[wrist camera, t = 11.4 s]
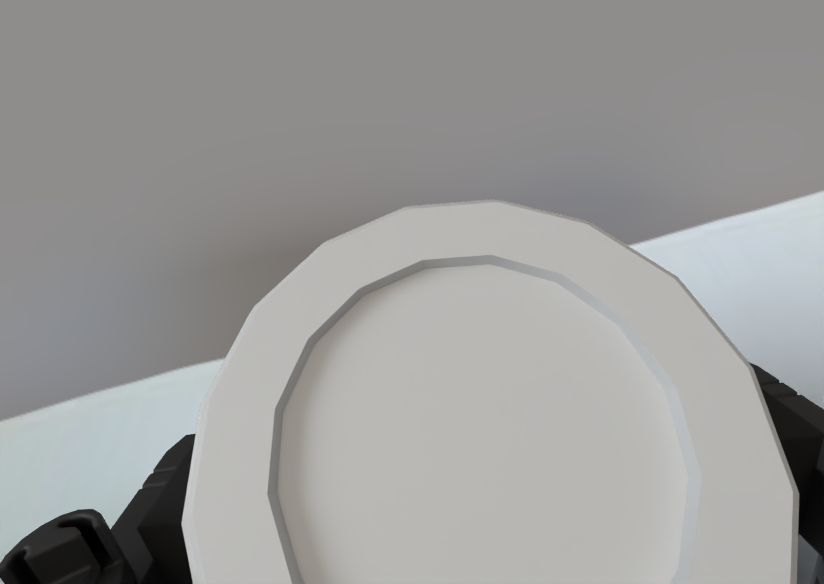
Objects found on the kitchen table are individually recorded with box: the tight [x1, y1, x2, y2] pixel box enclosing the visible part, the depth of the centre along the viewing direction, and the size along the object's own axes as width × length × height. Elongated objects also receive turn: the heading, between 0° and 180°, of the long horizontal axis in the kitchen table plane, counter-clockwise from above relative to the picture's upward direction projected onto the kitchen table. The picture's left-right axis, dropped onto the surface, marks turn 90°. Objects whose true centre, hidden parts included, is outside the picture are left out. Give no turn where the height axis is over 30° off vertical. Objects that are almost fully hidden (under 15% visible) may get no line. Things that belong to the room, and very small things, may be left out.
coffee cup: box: [181, 199, 799, 584], centre depth 10 cm, size 9×9×12 cm
